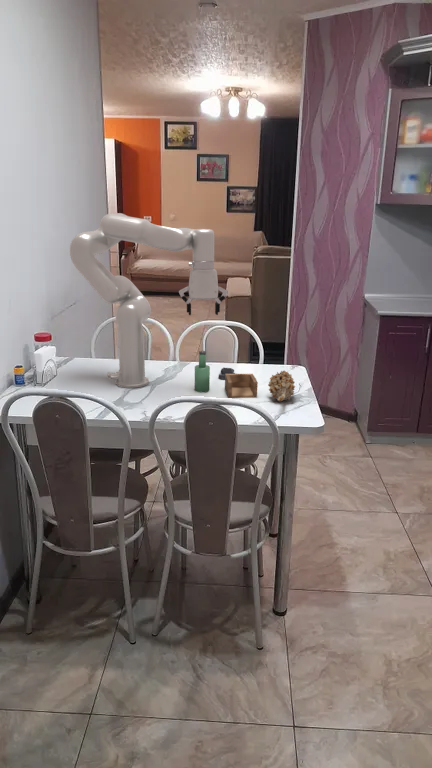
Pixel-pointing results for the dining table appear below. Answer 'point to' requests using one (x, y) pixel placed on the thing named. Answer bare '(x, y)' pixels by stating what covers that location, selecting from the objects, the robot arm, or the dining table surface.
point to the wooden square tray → (241, 385)
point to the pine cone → (282, 386)
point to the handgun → (225, 371)
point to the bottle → (202, 374)
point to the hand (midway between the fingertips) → (203, 314)
